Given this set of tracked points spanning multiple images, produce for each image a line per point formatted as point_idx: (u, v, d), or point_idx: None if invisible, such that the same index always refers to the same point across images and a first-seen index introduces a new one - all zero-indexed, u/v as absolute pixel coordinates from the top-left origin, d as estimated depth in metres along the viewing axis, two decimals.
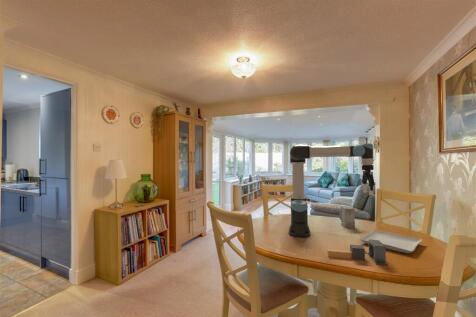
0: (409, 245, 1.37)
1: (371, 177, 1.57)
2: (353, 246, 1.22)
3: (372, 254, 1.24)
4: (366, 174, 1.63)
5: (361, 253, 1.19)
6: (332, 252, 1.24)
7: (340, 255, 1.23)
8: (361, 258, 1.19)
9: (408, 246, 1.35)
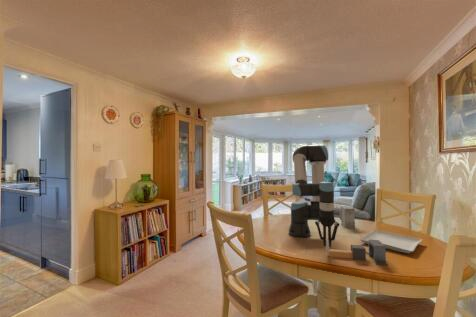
0: (409, 245, 1.37)
1: None
2: (354, 246, 1.22)
3: (372, 254, 1.24)
4: None
5: (362, 253, 1.19)
6: (333, 252, 1.24)
7: (341, 255, 1.23)
8: (362, 258, 1.19)
9: (408, 246, 1.35)
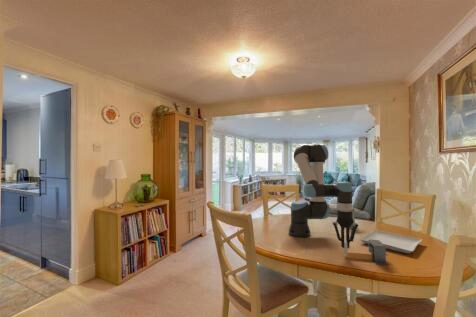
0: (409, 245, 1.37)
1: None
2: (373, 247, 1.20)
3: None
4: None
5: None
6: (351, 253, 1.21)
7: (360, 257, 1.20)
8: None
9: (408, 246, 1.35)
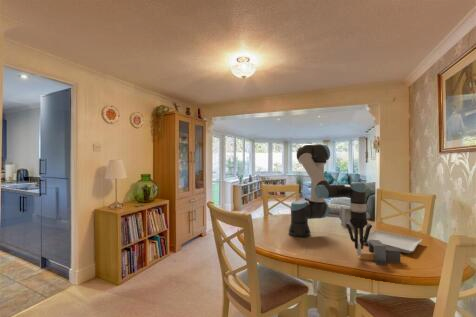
0: (409, 245, 1.37)
1: (349, 231, 1.23)
2: (387, 248, 1.19)
3: None
4: None
5: (397, 256, 1.16)
6: (365, 254, 1.20)
7: None
8: (396, 261, 1.16)
9: (408, 246, 1.35)
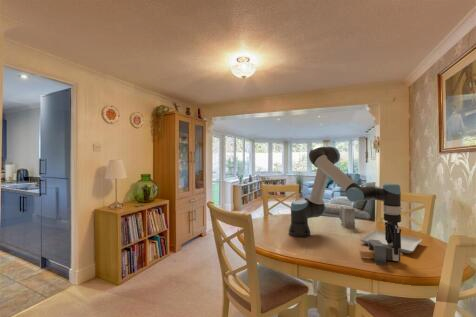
0: (409, 245, 1.37)
1: (397, 237, 1.12)
2: (387, 246, 1.19)
3: None
4: (390, 228, 1.17)
5: None
6: (365, 252, 1.20)
7: None
8: None
9: (408, 246, 1.35)
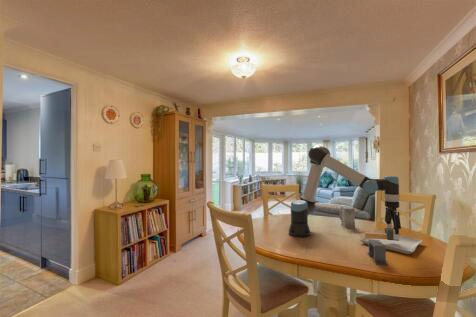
0: (409, 246, 1.37)
1: (397, 219, 1.35)
2: (388, 229, 1.42)
3: (372, 254, 1.24)
4: (391, 213, 1.40)
5: None
6: (369, 234, 1.43)
7: (377, 237, 1.42)
8: None
9: (408, 247, 1.35)
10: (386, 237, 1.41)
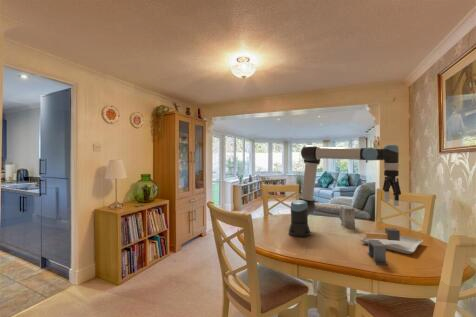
0: (410, 246, 1.37)
1: (396, 185, 1.34)
2: (389, 229, 1.42)
3: (372, 254, 1.24)
4: (390, 181, 1.40)
5: (397, 235, 1.39)
6: (370, 234, 1.43)
7: (377, 237, 1.42)
8: (396, 239, 1.39)
9: (409, 247, 1.35)
10: (387, 237, 1.41)
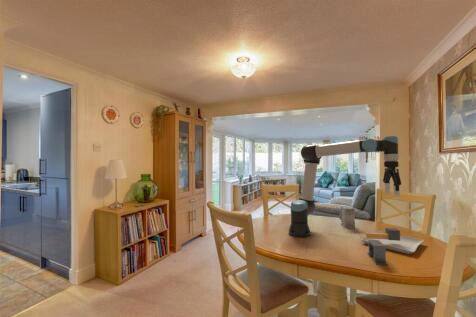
0: (410, 246, 1.37)
1: (397, 175, 1.34)
2: (389, 229, 1.42)
3: (372, 254, 1.24)
4: (390, 172, 1.40)
5: (397, 235, 1.39)
6: (371, 234, 1.43)
7: (378, 237, 1.42)
8: (397, 239, 1.39)
9: (409, 247, 1.35)
10: (387, 237, 1.41)
